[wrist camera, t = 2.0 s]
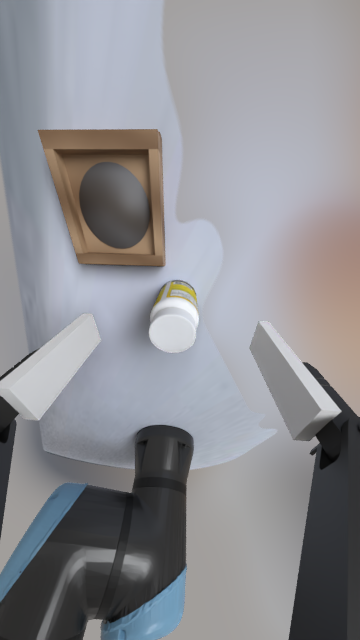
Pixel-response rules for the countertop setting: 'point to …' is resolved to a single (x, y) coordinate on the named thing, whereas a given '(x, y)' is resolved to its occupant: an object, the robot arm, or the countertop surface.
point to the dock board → (110, 193)
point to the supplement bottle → (174, 317)
